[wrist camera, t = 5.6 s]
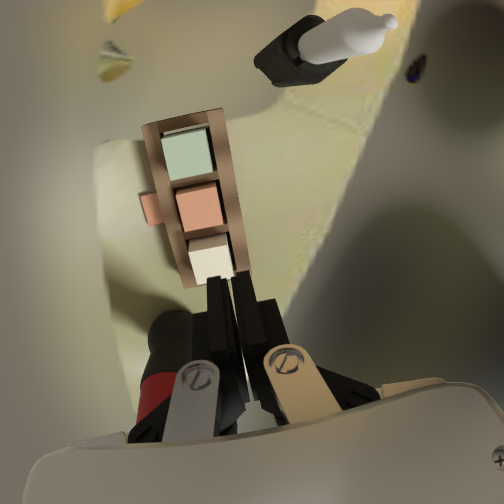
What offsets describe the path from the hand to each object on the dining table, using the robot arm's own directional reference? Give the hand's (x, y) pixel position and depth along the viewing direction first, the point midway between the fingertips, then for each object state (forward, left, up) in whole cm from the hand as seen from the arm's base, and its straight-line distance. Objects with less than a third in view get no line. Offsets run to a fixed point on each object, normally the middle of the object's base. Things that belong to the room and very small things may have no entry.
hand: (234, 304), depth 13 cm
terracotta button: (+4, -3, -28) cm, 28 cm away
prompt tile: (+4, -9, -28) cm, 30 cm away
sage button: (-2, -3, -27) cm, 27 cm away
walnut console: (+4, -3, -28) cm, 28 cm away
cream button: (+11, -3, -26) cm, 29 cm away
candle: (-11, +9, -28) cm, 32 cm away
